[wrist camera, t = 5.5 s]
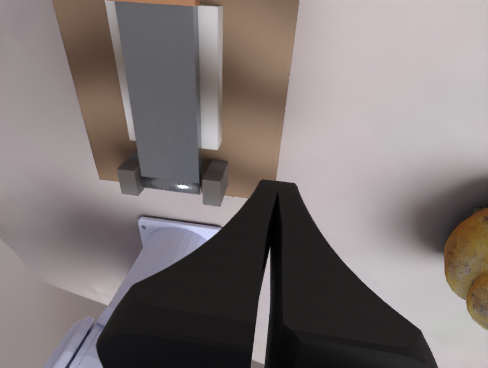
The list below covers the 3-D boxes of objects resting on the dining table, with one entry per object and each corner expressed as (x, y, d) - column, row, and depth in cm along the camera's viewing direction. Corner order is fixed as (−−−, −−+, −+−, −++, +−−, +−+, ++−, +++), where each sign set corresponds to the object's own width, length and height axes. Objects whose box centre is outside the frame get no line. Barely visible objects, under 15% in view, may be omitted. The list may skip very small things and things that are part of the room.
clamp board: (274, 190, 24) (269, 232, 19) (109, 169, 25) (71, 205, 21) (311, -100, 14) (318, -138, 10) (43, -107, 15) (-49, -144, 11)
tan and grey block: (206, 188, 21) (200, 200, 20) (146, 181, 21) (138, 192, 20) (201, -57, 14) (192, -63, 12) (111, -62, 14) (94, -68, 13)
